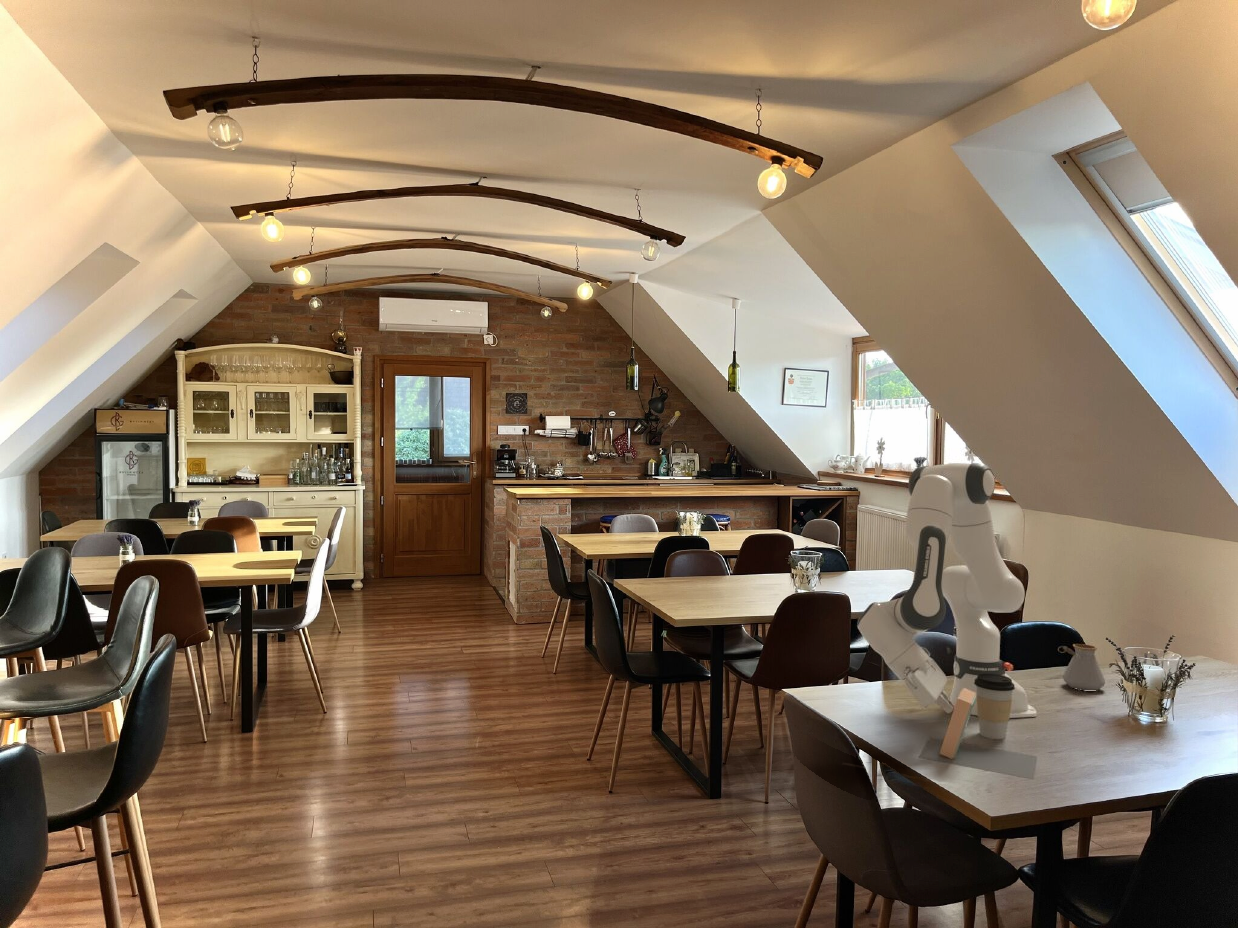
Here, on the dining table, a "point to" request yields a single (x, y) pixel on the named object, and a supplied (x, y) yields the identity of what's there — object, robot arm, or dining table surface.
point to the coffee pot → (1083, 668)
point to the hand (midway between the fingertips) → (951, 710)
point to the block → (958, 723)
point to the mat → (983, 758)
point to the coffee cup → (993, 704)
